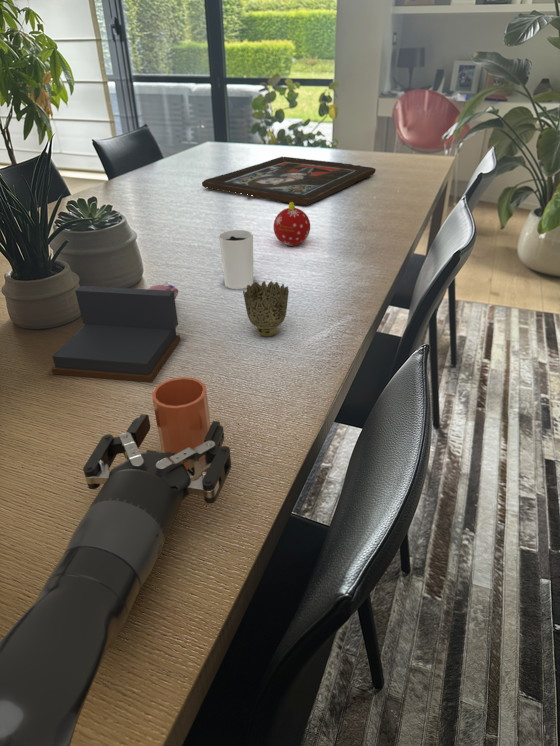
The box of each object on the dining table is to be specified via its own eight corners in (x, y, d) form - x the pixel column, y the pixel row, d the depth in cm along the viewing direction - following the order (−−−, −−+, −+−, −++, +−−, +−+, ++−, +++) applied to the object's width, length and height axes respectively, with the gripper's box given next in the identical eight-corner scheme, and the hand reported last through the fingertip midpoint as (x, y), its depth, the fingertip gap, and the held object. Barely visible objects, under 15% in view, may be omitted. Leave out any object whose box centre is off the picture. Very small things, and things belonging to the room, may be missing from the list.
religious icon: (198, 191, 175) (197, 181, 173) (279, 164, 205) (279, 155, 204) (305, 209, 155) (305, 198, 153) (377, 176, 186) (377, 166, 184)
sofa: (52, 374, 84) (37, 321, 79) (92, 333, 95) (80, 285, 90) (151, 382, 81) (141, 328, 77) (180, 340, 92) (173, 290, 87)
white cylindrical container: (217, 287, 110) (212, 239, 105) (231, 275, 115) (227, 228, 110) (247, 291, 108) (244, 242, 103) (260, 279, 113) (258, 231, 108)
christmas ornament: (266, 246, 130) (265, 203, 124) (288, 236, 136) (287, 195, 130) (296, 253, 125) (295, 209, 120) (317, 242, 131) (317, 200, 126)
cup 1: (157, 473, 65) (143, 404, 59) (174, 441, 70) (163, 375, 64) (205, 479, 64) (196, 409, 58) (219, 446, 69) (212, 379, 63)
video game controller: (139, 334, 98) (146, 306, 93) (120, 318, 98) (127, 289, 94) (176, 312, 104) (185, 285, 100) (159, 298, 105) (167, 270, 100)
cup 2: (281, 346, 90) (279, 301, 85) (239, 340, 92) (236, 296, 87) (294, 325, 95) (294, 283, 91) (255, 320, 98) (252, 278, 93)
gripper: (194, 512, 46) (239, 402, 60) (40, 494, 49) (117, 391, 62) (202, 570, 50) (243, 454, 64) (60, 550, 53) (128, 442, 66)
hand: (181, 423), depth 63 cm, fingers open, 8 cm apart
